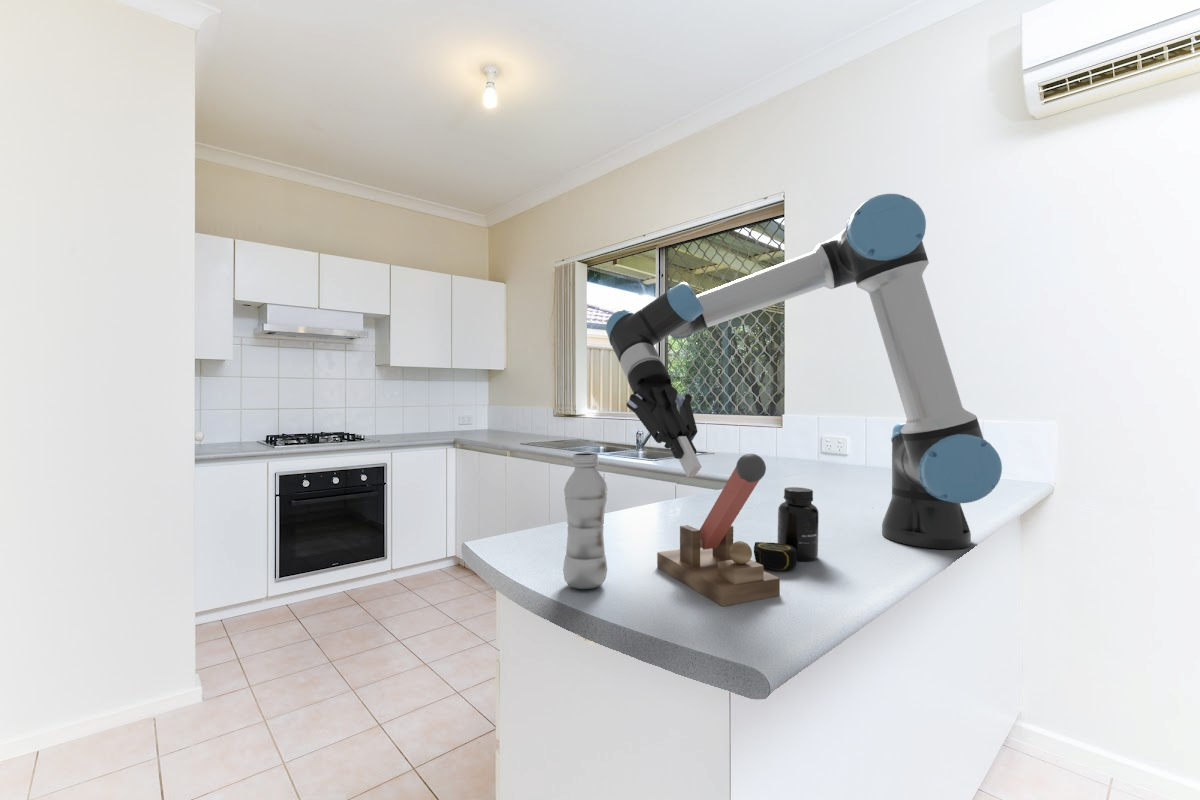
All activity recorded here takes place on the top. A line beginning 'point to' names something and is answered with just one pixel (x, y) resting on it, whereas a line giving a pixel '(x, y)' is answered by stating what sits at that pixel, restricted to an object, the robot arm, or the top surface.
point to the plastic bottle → (585, 524)
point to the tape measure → (775, 555)
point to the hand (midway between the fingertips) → (694, 471)
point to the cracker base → (708, 570)
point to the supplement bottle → (799, 522)
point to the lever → (731, 500)
